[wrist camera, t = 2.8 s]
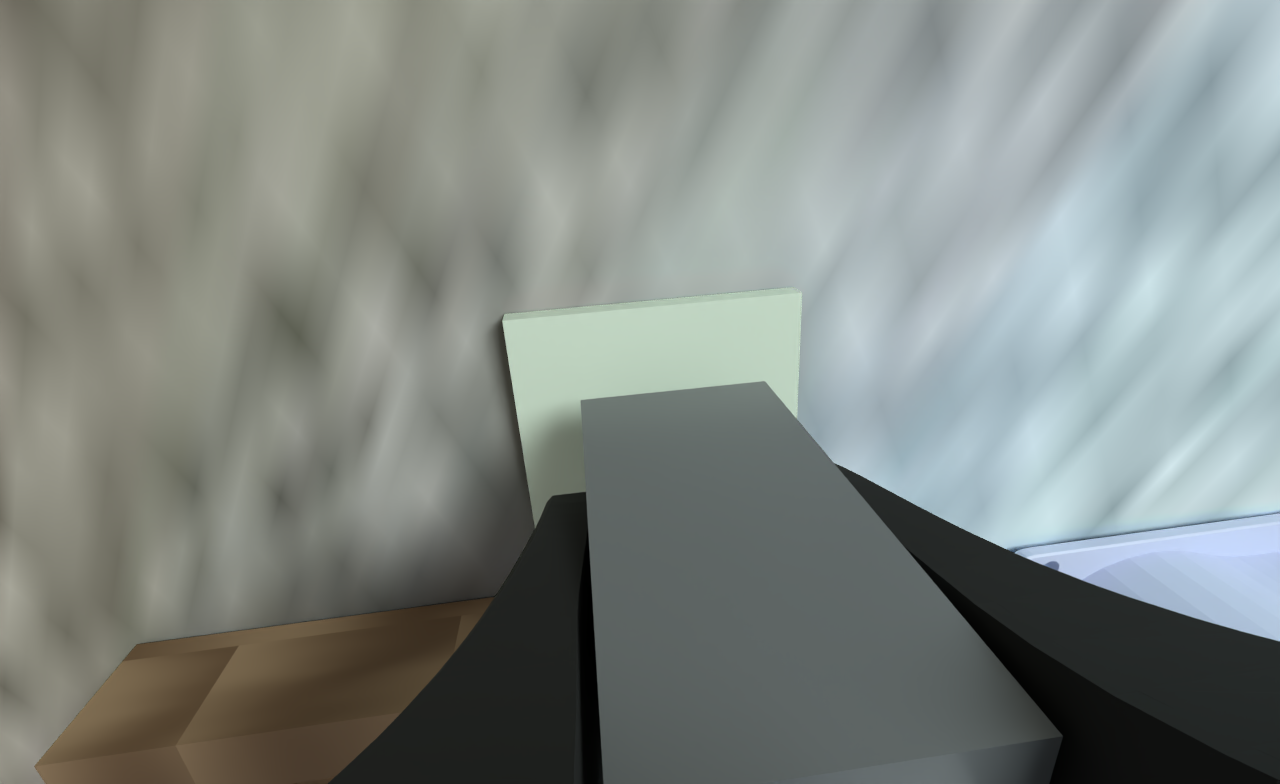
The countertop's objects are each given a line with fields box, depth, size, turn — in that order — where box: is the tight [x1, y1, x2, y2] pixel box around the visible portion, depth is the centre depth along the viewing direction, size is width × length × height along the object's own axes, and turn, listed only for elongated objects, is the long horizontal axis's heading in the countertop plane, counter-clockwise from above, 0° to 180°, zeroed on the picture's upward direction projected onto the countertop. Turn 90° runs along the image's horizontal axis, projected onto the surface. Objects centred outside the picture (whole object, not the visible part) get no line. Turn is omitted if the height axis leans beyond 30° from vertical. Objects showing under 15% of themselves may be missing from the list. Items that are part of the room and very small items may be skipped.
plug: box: [580, 381, 1063, 784], centre depth 8 cm, size 4×4×8 cm
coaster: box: [502, 287, 802, 528], centre depth 13 cm, size 6×6×1 cm
